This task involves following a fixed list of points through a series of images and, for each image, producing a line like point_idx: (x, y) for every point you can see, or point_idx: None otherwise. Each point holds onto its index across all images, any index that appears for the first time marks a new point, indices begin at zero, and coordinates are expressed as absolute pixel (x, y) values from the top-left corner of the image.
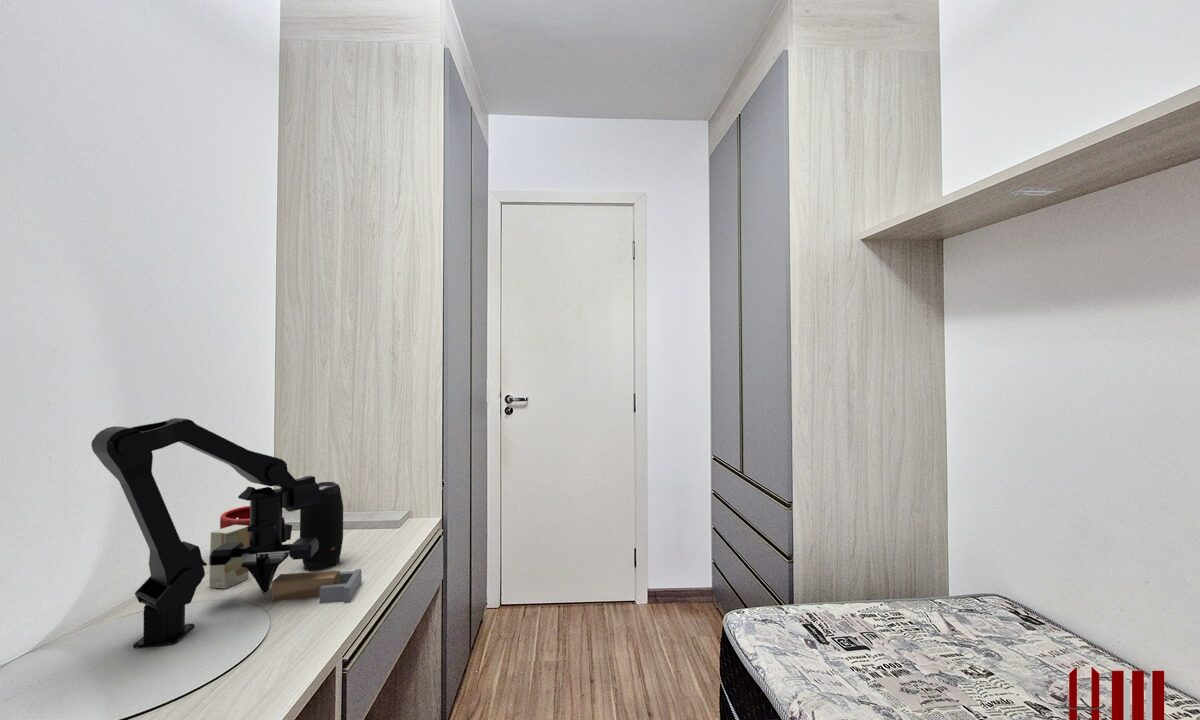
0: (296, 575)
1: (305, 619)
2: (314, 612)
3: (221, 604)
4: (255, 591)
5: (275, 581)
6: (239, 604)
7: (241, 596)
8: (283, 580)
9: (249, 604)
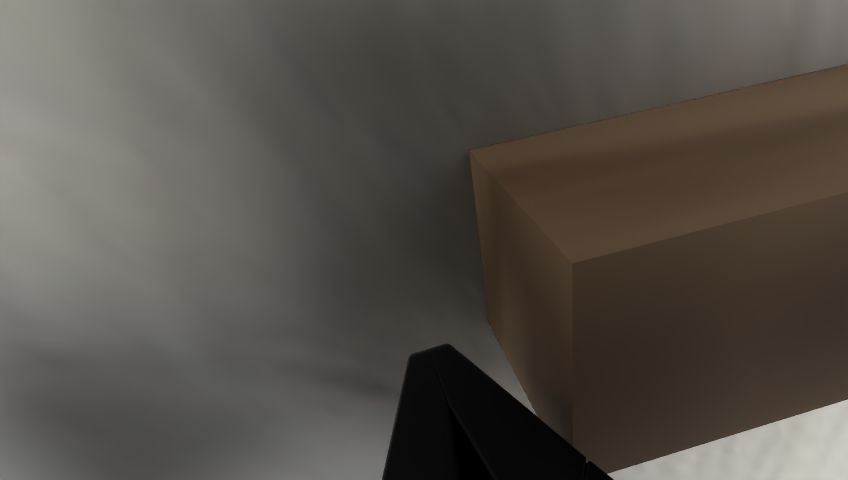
0: (837, 278)
1: (794, 469)
2: (833, 408)
3: (29, 444)
4: (101, 133)
5: (614, 470)
6: (228, 415)
7: (55, 278)
8: (702, 432)
9: (327, 400)
